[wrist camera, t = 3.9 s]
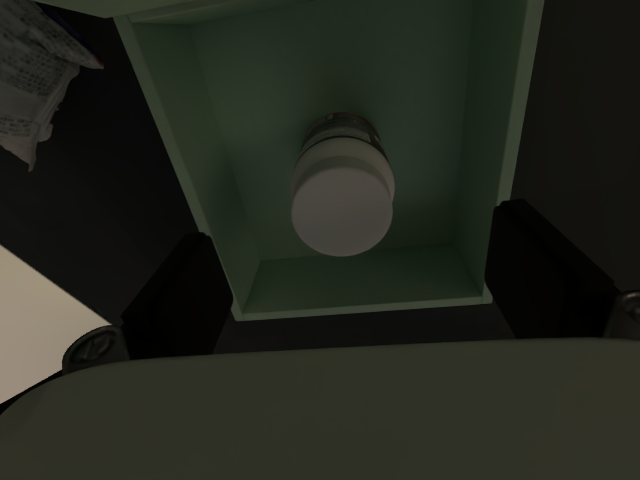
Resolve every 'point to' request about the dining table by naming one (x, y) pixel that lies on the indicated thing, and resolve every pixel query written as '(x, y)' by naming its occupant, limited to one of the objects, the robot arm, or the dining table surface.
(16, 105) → the packaged food
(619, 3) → the dining table surface
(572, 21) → the dining table surface
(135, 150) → the dining table surface
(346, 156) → the pill bottle
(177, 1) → the lunchbox lid
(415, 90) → the box
